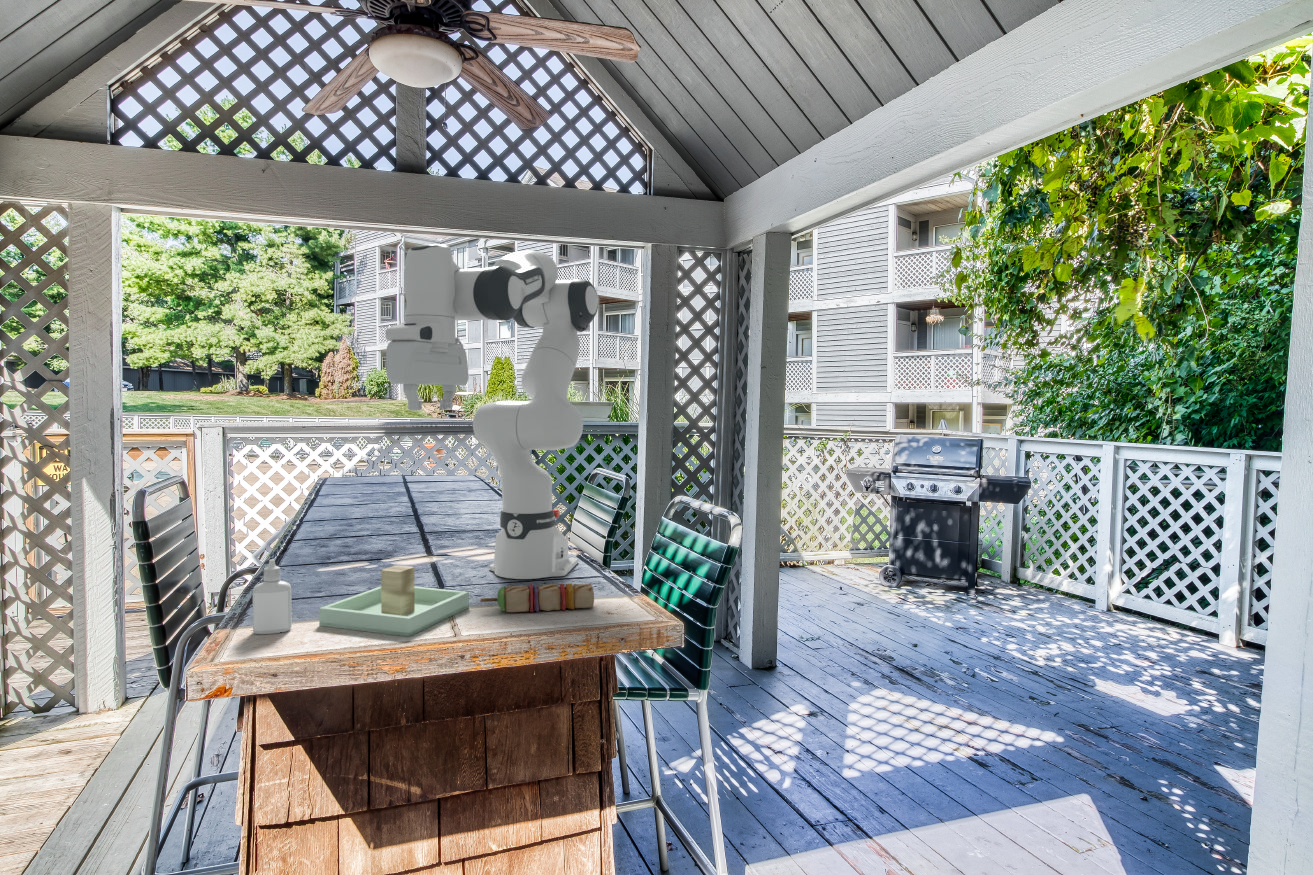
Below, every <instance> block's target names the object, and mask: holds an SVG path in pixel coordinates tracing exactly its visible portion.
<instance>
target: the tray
mask: <svg viewBox="0 0 1313 875" xmlns="http://www.w3.org/2000/svg"><path fill="white" fill-rule="evenodd" d="M414 592H415V611H413V612H411V613H408V614H406V615H404V616H400V615H392V614H383V613H381V585H380V586H377V587H374V588H372V589H370V590H367V591H364V592H360V593H358V594H355V595H353V596H349V597H347V598H344V599H342V600H341V599H340V600H338V601H336V602H333V603H330V604H327V605H324V606H322V607H321V606H320V607H319V608H318V609H319V610H318V615H319V617H318V618H319V619H318V620H319V626H320V627H328V628H336V629H343V630H344V629H345V630H354V631H360V632H369V633H377V634H384V635H393V636H398V637H399V636H401V637H408V638H409V636H410V637H411V636H414V635H416V634H418V633H420V632H421V631H424V630H426V629H428V628H430V627H432V626H434V625H436V624H439V623H440V621H441V622H443V621H445V620H446V619H449V618H451V617H453V616H455V615H457V614H459V613H461V612H463V611H465V610H467V609H469V608H470V592H469V591H463V590H453V589H443V588H435V587H434V588H432V587H423V586H415V585H414ZM444 619H445V620H444ZM442 620H443V621H442ZM431 625H432V626H431Z"/></svg>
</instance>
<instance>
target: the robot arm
mask: <svg viewBox="0 0 1313 875" xmlns="http://www.w3.org/2000/svg"><path fill="white" fill-rule="evenodd" d="M452 252H453V251H452V249H451V247H450V246H449V245H446V244H441V243H438V244H437V243H434V244H418V245H417V244H416V245H414V246H411V247H410V248H409V249H408V250H407V253H406V255H405V256H406V257H405V261H404V268H403V269H404V270H403V271H404V272H403V273H404V274H403V292H404V296H405V300H406V301H405V302H406V306H405V310H404V314H403V315H404V316H403V318H404V321H403V322H400V323H398V324H396V325H393V326H390V327H388V328H386V329H385V339H386V340H387V341H388V344H387V346H386V349H385V350H386V351H385V352H386V353H385V360H386V361H385V367H386V368H385V372H386V377H387V380H388V381H389V382H390V384H392V385H397V384H398V385H402V387H403V388H402V389H403V393H404V395H405V397H406V399H407V408H408V410H409V411H411V412H413V411H415V412H416V411H417V412H418V411H419V412H420V411H421V410H422V405H423V401H422V400H420V399H419V395H418V392H417V391H419V385H428V386H431V385H432V386H442V388H441V389H442V392H443V396H442V399H440V400H439V409H440V410H445V411H446V410H447V411H448V410H450V411H451V410H452V409H453V400H454V397H455V394H456V392H457V386H466V385H468V381H469V365H468V356H467V351H466V349H465V348H464V344H463V343H462V341H461V340H460V338H458V337H456V321H480V320H481V321H485V320H486V321H488V320H491V321H511V320H514V322H515V324H517V325H518V326H519V327H521V328H522V327H523V328H528V329H534V328H542V335H541V336H540V338H539V339H538V340H537V342H536V344H535V346H534V347H533V349H532V352H531V353H530V357H529V358H528V360H527V363H526V365H525V367H524V370H523V372H522V375H521V386H522V389H523V391H524V392H525V393H526V394H527V396H528V397H530V400H529V399H528V400H497V401H493V402H488V403H483V404H482V405H480V406H479V407H478V408H477V410H476V411H475V414H474V416H473V419H472V430H473V433H474V436H475V438H476V440H477V441H478V442H479V443H480V444H481V445H483V447H485V448H486V449H487V450H488V452H489V453H490V454H491V456H492V457H493V460H494V461H495V463H496V466H497V467H498V471H499V475H500V479H501V480H500V481H501V497H502V498H501V499H502V510H501V511H500V516H499V521H500V522H499V523H500V524H499V525H500V528H501V530H500V531H499V532H498V533H497V534H496V536H495V545H494V546H495V547H494V557H493V563H492V564H490V565H489V570H490V571H492V572H494V574H495V575H496V576H497V577H500V578H505V579H515V580H533V579H534V580H535V579H542V578H550V577H564V576H566V575H568V573H570V572H571V570H572V569H573V568H575V566H576V565H577V564H578V563H579V559H578V558H576V557H573V556H569V540H568V539H567V537H566V536H564V534H563V533H562V532H561V531H560V530H559V529H558V528H557V527H556V524H557V523H556V522H557V521H556V519H558V518H560V512H561V511H560V510H559V509H552V508H553V479H552V476H551V475H550V473H549V472H548V471H547V470H546V469H544V468H543V467H541V466H539V465H538V464H536V462H535V461H534V459H533V456H532V455H531V450H532V451H534V450H536V451H557V450H563V449H569V448H573V447H575V445H577V443H578V442H579V441H580V439H581V437H582V434H583V430H584V420H583V417H582V415H581V412H580V411H579V410H578V408H577V407H576V405H574V404H572V403H571V401H570V400H569V398H568V392H569V387H570V384H571V381H572V378H573V375H574V372H575V369H576V366H577V363H578V361H579V360H578V359H579V355H580V344H581V343H580V341H581V340H580V337H579V336H578V332H579V333H582V332H584V331H586V330H587V329H588V327H589V324H591V323H592V322H593V320H594V319H595V317H596V315H597V313H598V309H599V298H598V292H597V290H596V288H595V286H594V285H593V284H592V283H591V281H589V280H585V279H579V278H574V279H558V276H559V272H558V271H559V270H558V267H557V264H556V262H555V261H554V259H553V258H552V257H551V256H550V255H548V254H547V253H545V252H541V251H538V250H537V251H536V250H522V251H521V250H520V251H516V252H511V253H508V254H506V255H504V256H502V257H500V258H499V259H498V260H496V262H495V263H494V264H493V266H490V267H481V268H465V269H464V268H463V269H462V267H460V266H459V265H458V264H457V263H456V262H455V261H454V260H453V259H454V258H453V253H452Z"/></svg>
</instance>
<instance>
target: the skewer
mask: <svg viewBox="0 0 1313 875" xmlns="http://www.w3.org/2000/svg"><path fill="white" fill-rule="evenodd" d="M594 592H595V591H594V587H593V585H592V583H566V584H564V583H560V584H559V585H558V583H549V584H542V585H538V584H534V585H533V583H532V582H531V583H529V585H508V586H506V585H503V586H501V588H499V590H498V591H497V597H491V598H489V597H488V598H487V597H486V598H484V597H483V598H480V602H481V603H487V602H489V603H490V602H491V603H492V602H497V604H498V607H499V608H500V610H501V611H502V612H506V613H518V612H519V613H521V612H530V613H533V612H534V611H535V612H540V611H541V610H542V611H549V612H550V611H560V610H562V611H566V609H570V610H575V609H589V608H594V603H595V593H594Z"/></svg>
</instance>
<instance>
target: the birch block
mask: <svg viewBox="0 0 1313 875" xmlns="http://www.w3.org/2000/svg"><path fill="white" fill-rule="evenodd" d="M380 575H381V576H380V581H381V582H380V584H381V585H380V586H381V613H383V614H392V615H400V616H404V615H406V614H408V613H411V612H413V611H415V592H414V586H415V566H408V565H407V566H406V565H405V566H404V565H393V566H389V567H387V568H383V569H381V571H380Z"/></svg>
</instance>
